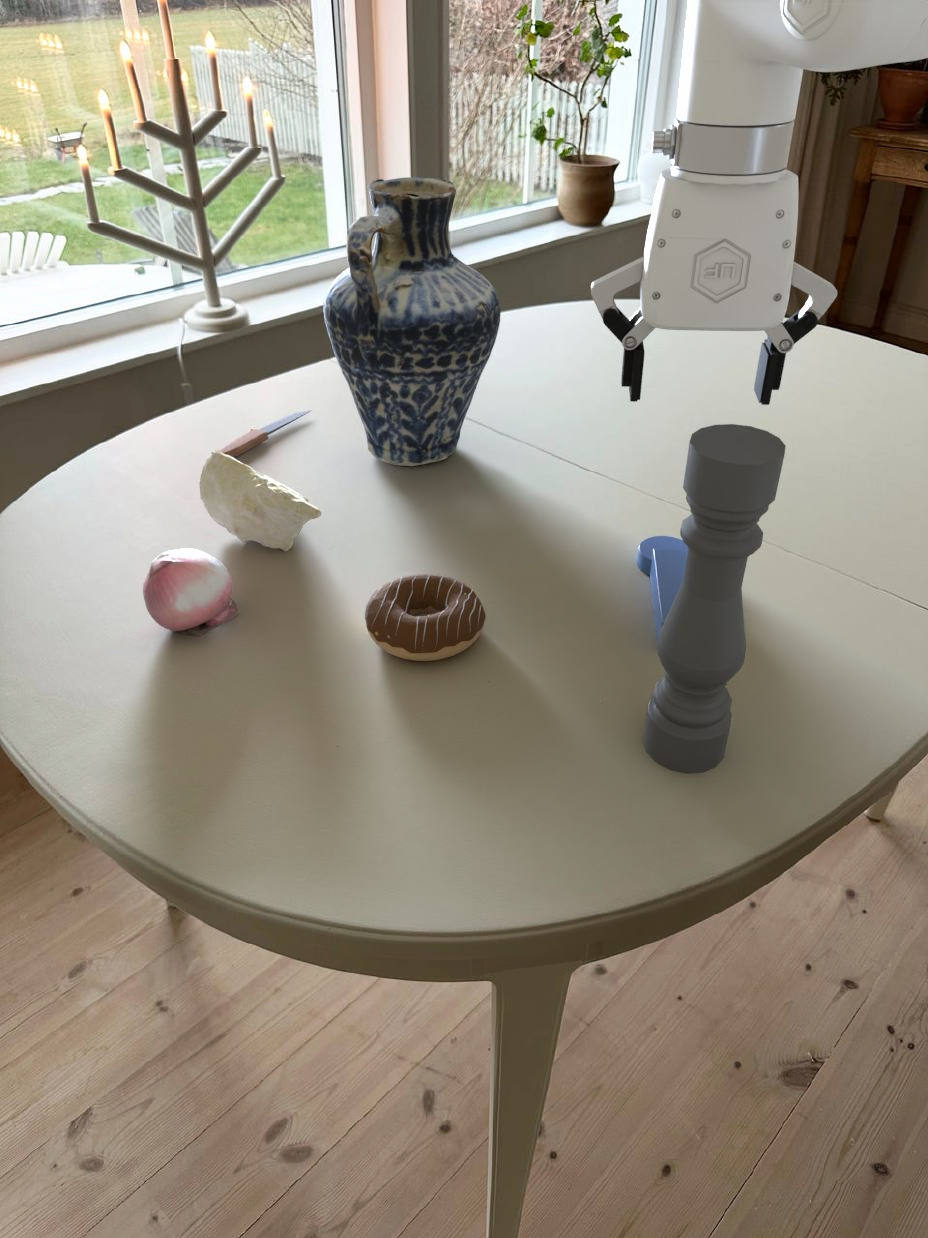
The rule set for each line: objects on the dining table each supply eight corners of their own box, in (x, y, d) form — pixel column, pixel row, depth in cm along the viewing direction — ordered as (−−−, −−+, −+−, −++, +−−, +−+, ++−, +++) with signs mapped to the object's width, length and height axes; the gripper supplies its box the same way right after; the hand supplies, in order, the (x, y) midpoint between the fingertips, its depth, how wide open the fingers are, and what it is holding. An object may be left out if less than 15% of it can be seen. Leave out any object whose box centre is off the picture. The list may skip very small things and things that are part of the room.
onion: (176, 592, 88) (160, 527, 84) (253, 600, 87) (241, 534, 82) (138, 643, 81) (119, 575, 77) (220, 651, 80) (206, 583, 76)
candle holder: (664, 780, 67) (715, 472, 53) (629, 725, 72) (668, 429, 58) (740, 763, 69) (811, 458, 54) (701, 710, 74) (756, 417, 59)
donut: (341, 636, 82) (337, 599, 80) (424, 586, 88) (423, 550, 86) (426, 688, 76) (424, 650, 74) (509, 630, 82) (510, 594, 80)
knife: (294, 401, 121) (312, 406, 120) (294, 409, 122) (312, 413, 121) (205, 450, 110) (224, 455, 109) (207, 458, 111) (226, 463, 109)
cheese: (212, 521, 103) (148, 496, 88) (243, 463, 102) (184, 428, 88) (328, 585, 100) (283, 571, 86) (360, 526, 100) (321, 501, 85)
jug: (377, 409, 122) (360, 159, 104) (518, 428, 117) (525, 169, 99) (305, 478, 106) (271, 198, 89) (463, 504, 101) (461, 212, 83)
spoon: (706, 655, 79) (711, 625, 77) (645, 651, 80) (649, 622, 78) (687, 552, 93) (692, 524, 91) (635, 549, 93) (639, 522, 91)
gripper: (599, 160, 59) (584, 413, 69) (880, 160, 57) (823, 419, 67) (598, 141, 65) (584, 376, 75) (852, 140, 63) (803, 381, 73)
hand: (697, 396), depth 71 cm, fingers open, 9 cm apart
